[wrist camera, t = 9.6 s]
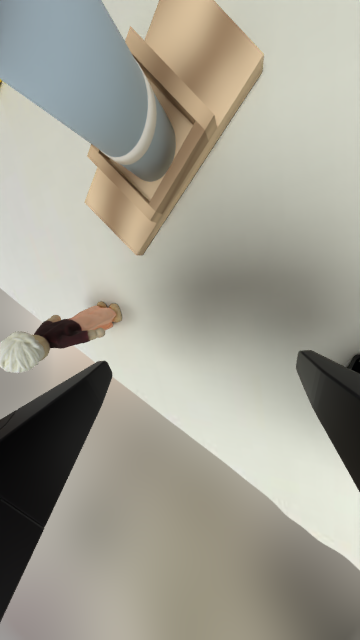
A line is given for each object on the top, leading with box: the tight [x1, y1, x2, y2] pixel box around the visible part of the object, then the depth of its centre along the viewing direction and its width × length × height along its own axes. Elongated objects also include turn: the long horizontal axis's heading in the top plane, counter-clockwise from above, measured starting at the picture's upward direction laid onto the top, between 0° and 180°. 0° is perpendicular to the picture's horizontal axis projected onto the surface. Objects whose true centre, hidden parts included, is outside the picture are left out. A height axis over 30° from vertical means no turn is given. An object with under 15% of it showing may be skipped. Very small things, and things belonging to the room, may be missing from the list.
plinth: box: [85, 0, 264, 255], centre depth 14 cm, size 8×16×3 cm, turn 139°
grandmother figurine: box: [0, 302, 122, 373], centre depth 19 cm, size 8×4×13 cm, turn 98°
